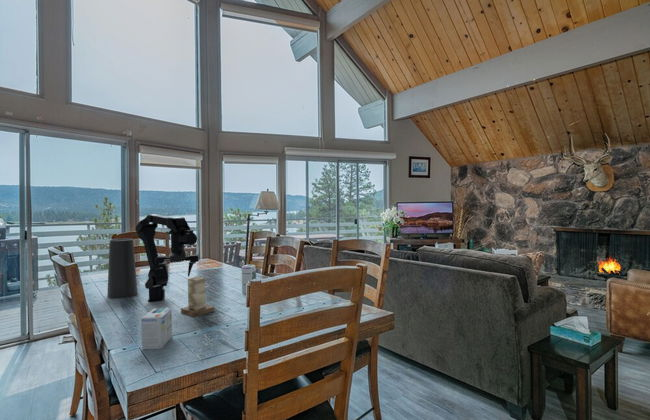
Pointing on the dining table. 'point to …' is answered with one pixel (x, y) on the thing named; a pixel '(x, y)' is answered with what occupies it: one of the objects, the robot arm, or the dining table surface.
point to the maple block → (196, 293)
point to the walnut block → (197, 311)
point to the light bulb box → (156, 328)
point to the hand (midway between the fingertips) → (178, 277)
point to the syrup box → (247, 275)
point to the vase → (121, 269)
